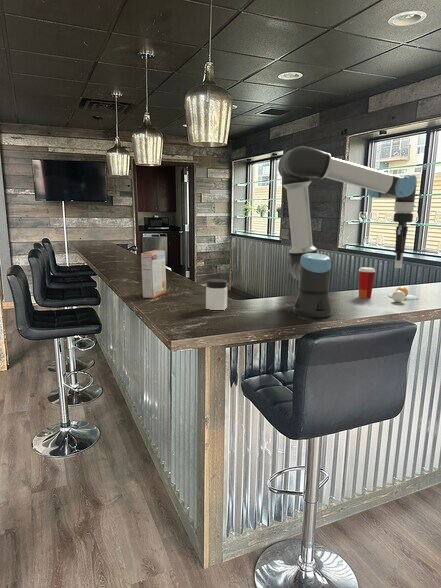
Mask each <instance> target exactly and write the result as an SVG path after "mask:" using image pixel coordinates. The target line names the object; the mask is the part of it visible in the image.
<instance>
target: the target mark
mask: <svg viewBox="0 0 441 588" xmlns="http://www.w3.org/2000/svg"><path fill="white" fill-rule="evenodd" d="M392 294H393V293H388V294H387V295H386V296H387V298H390V299H392ZM419 298H420V297H418V296H417V295H414V294H408V295H407V296H406V297H405V299H404V301H415V300H420V299H419Z"/></svg>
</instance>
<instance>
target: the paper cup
mask: <svg viewBox="0 0 441 588" xmlns="http://www.w3.org/2000/svg"><path fill="white" fill-rule="evenodd" d="M357 271H358V298H361V299H371V297H372V293H373V286H374V280H375V275H376V269H375V268H374V267H365V266H364V267H363V266H362V267H359V269H358V270H357Z"/></svg>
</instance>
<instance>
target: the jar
mask: <svg viewBox="0 0 441 588" xmlns="http://www.w3.org/2000/svg"><path fill="white" fill-rule="evenodd" d="M227 281H228V280H227V279H223V278H211V279H210V278H209V279H207V280H206V288H205V310H206V309H210V310H224V311H225V309H226V308H227V309H228V286H227V285H228V284H227V283H228V282H227ZM227 309H226V310H227ZM210 310H209V311H210Z"/></svg>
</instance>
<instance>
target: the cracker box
mask: <svg viewBox="0 0 441 588" xmlns="http://www.w3.org/2000/svg"><path fill="white" fill-rule="evenodd" d="M140 258H141V259H140V261H141V262H140V263H141V285H142V298H143V299H155V298H157V297H159V296H162V295H164V294H166V293H167V279H166V278H167V274H166V272H167V271H166V250H165V249H164V250H162V249H161V250H160V249H154V250H149V251H144V252H141V253H140Z"/></svg>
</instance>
